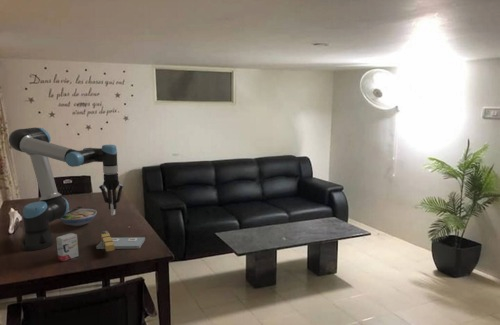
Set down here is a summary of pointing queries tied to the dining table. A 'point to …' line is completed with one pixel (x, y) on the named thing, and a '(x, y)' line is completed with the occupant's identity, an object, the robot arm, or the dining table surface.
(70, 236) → the ink box
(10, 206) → the dining table surface
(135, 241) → the power panel
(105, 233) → the banded tan post
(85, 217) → the ramen bowl
